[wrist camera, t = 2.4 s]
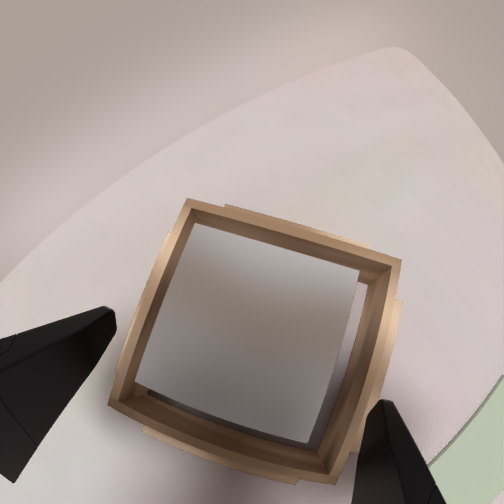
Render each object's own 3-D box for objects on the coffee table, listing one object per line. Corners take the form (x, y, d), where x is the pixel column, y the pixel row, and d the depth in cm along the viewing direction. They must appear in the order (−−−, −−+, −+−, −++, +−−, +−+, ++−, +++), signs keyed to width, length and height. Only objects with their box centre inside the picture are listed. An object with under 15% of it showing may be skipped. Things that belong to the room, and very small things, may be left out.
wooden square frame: (339, 490, 13) (355, 517, 10) (105, 409, 16) (71, 416, 12) (407, 259, 18) (435, 237, 14) (187, 196, 21) (171, 163, 17)
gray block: (286, 396, 16) (307, 443, 7) (206, 370, 17) (134, 381, 7) (311, 317, 17) (359, 270, 8) (233, 293, 18) (195, 222, 9)
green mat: (420, 561, 9) (422, 564, 9) (366, 514, 12) (368, 517, 12) (534, 442, 12) (536, 443, 11) (502, 375, 15) (505, 375, 14)
